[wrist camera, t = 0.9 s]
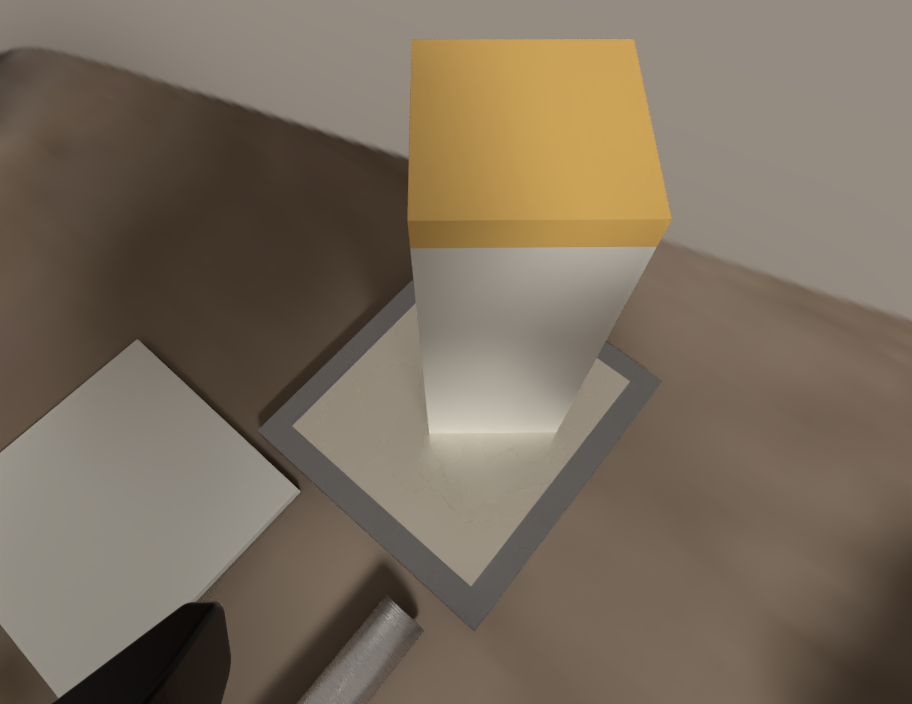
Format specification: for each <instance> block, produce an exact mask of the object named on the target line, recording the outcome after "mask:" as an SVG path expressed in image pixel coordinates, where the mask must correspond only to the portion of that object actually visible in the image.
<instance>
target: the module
mask: <svg viewBox="0 0 912 704" xmlns="http://www.w3.org/2000/svg"><path fill="white" fill-rule="evenodd" d="M409 136H410V137H409V176H408V218H407V221H408V231H409V241H410V251H411V261H412V270H413V280H414V290H415V300H416V310H417V319H418V329H419V339H420V349H421V359H422V368H423V378H424V388H425V398H426V407H427V417H428V427H429V434H433V433H518V432H557V430H558V428H559V427H560V425H561V423H562V421H563V419H564V417H565V415H566V414H567V412H568V410H569V408H570V406H571V404H572V403H573V401H574V399H575V397H576V395H577V393H578V391H579V390H580V388H581V386H582V384H583V382H584V380H585V378H586V377H587V375H588V373H589V371H590V369H591V367H592V366H593V364H594V362H595V360H596V358H597V356H598V354H599V353H600V351H601V349H602V347H603V345H604V343H605V341H606V340H607V338H608V336H609V334H610V332H611V330H612V329H613V327H614V325H615V323H616V321H617V319H618V317H619V316H620V314H621V312H622V310H623V308H624V306H625V305H626V303H627V301H628V299H629V297H630V295H631V293H632V292H633V290H634V288H635V286H636V284H637V282H638V280H639V279H640V277H641V275H642V273H643V271H644V269H645V268H646V266H647V264H648V262H649V260H650V258H651V256H652V255H653V253H654V251H655V249H656V247H657V245H658V243H659V242H660V240H661V238H662V236H663V234H664V232H665V230H666V229H667V227H668V225H669V223H670V221H671V214H670V209H669V204H668V200H667V195H666V190H665V185H664V180H663V176H662V171H661V166H660V161H659V157H658V152H657V147H656V142H655V137H654V133H653V128H652V123H651V118H650V113H649V109H648V104H647V99H646V95H645V90H644V85H643V80H642V76H641V71H640V66H639V61H638V56H637V51H636V47H635V42H634V39H574V40H573V39H552V40H551V39H550V40H549V39H539V40H538V39H528V40H527V39H525V40H524V39H520V40H519V39H512V40H511V39H504V40H503V39H499V40H497V39H493V40H492V39H490V40H486V39H485V40H484V39H480V40H479V39H478V40H475V39H473V40H472V39H471V40H412V51H411V94H410V134H409Z"/></svg>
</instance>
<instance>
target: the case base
mask: <svg viewBox="0 0 912 704" xmlns="http://www.w3.org/2000/svg"><path fill="white" fill-rule="evenodd" d="M661 382H662V380H660V379H659V378H657V377H656V376H654V375H653V374H652V373H650V372H649V371H647V370H646V369H644V368H643V367H642V366H640V365H639V364H637V363H636V362H634V361H633V360H632V359H630V358H629V357H627V356H626V355H624V354H623V353H622V352H620V351H619V350H617V349H616V348H614V347H613V346H612V345H610V344H609V343H607V342H606V341H605V343H604V345H603V347H602V349H601V351H600V353H599V354H598V356H597V358H596V360H595V362H594V364H593V366H592V367H591V369H590V371H589V373H588V375H587V377H586V378H585V380H584V382H583V384H582V386H581V388H580V390H579V391H578V393H577V395H576V397H575V399H574V401H573V403H572V404H571V406H570V408H569V410H568V412H567V414H566V415H565V417H564V419H563V421H562V423H561V425H560V427H559V428H558V430H557V432H518V433H433V434H429V427H428V417H427V407H426V398H425V388H424V378H423V368H422V359H421V349H420V339H419V329H418V319H417V310H416V300H415V290H414V280H412V281H411V282H410V283H409V284H408V285H407V286H406V287H405V288H403V289H402V290H401V291H400V292H399V293H398V294H397V295H396V296H395V297H394V298H393V299H392V300H391V301H390V302H389V303H388V304H387V305H386V306H385V307H384V308H383V309H382V310H381V311H380V312H379V313H378V314H377V315H376V316H375V317H374V318H373V319H372V320H371V321H370V322H368V323H367V324H366V325H365V326H364V327H363V328H362V329H361V330H360V331H359V332H358V333H357V334H356V335H355V336H354V337H353V338H352V339H351V340H350V341H349V342H348V343H347V344H346V345H345V346H344V347H343V348H342V349H341V350H340V351H339V352H338V353H337V354H336V355H334V356H333V357H332V358H331V359H330V360H329V361H328V362H327V363H326V364H325V365H324V366H323V367H322V368H321V369H320V370H319V371H318V372H317V373H316V374H315V375H314V376H313V377H312V378H311V379H310V380H309V381H308V382H307V383H306V384H305V385H304V386H303V387H302V388H301V389H299V390H298V391H297V392H296V393H295V394H294V395H293V396H292V397H291V398H290V399H289V400H288V401H287V402H286V403H285V404H284V405H283V406H282V407H281V408H280V409H279V410H278V411H277V412H276V413H275V414H274V415H273V416H272V417H271V418H270V419H269V420H268V421H267V422H266V423H264V424H263V425H262V426H261V427H260V428H259V429H258V430H257V431H258V432H259V433H260V434H261V435H262V436H263V437H264V438H265V439H266V440H267V441H268V442H269V443H270V444H272V445H273V446H274V447H275V448H276V449H277V450H278V451H279V452H280V453H281V454H282V455H283V456H285V457H286V458H287V459H288V460H289V461H290V462H291V463H292V464H293V465H294V466H295V467H297V468H298V469H299V470H300V471H301V472H302V473H303V474H304V475H305V476H306V477H307V478H308V479H310V480H311V481H312V482H313V483H314V484H315V485H316V486H317V487H318V488H319V489H320V490H321V491H323V492H324V493H325V494H326V495H327V496H328V497H329V498H330V499H331V500H332V501H333V502H335V503H336V504H337V505H338V506H339V507H340V508H341V509H342V510H343V511H344V512H345V513H346V514H348V515H349V516H350V517H351V518H352V519H353V520H354V521H355V522H356V523H357V524H358V525H359V526H361V527H362V528H363V529H364V530H365V531H366V532H367V533H368V534H369V535H370V536H371V537H372V538H374V539H375V540H376V541H377V542H378V543H379V544H380V545H381V546H382V547H383V548H384V549H386V550H387V551H388V552H389V553H390V554H391V555H392V556H393V557H394V558H395V559H396V560H397V561H399V562H400V563H401V564H402V565H403V566H404V567H405V568H406V569H407V570H408V571H409V572H410V573H412V574H413V575H414V576H415V577H416V578H417V579H418V580H419V581H420V582H421V583H422V584H423V585H425V586H426V587H427V588H428V589H429V590H430V591H431V592H432V593H433V594H434V595H435V596H437V597H438V598H439V599H440V600H441V601H442V602H443V603H444V604H445V605H446V606H447V607H448V608H450V609H451V610H452V611H453V612H454V613H455V614H456V615H457V616H458V617H459V618H460V619H461V620H463V621H464V622H465V623H466V624H467V625H468V626H469V627H470V628H471V629H472V630H473V631H475V630H476V628H477V627H478V626H479V624H480V623H481V622H482V620H483V619H484V618H485V616H486V615H487V614H488V612H489V611H490V610H491V608H492V607H493V606H494V604H495V603H496V602H497V600H498V599H499V598H500V596H501V595H502V594H503V592H504V591H505V590H506V588H507V587H508V586H509V584H510V583H511V582H512V580H513V579H514V578H515V576H516V575H517V574H518V572H519V571H520V570H521V568H522V567H523V566H524V564H525V563H526V562H527V560H528V559H529V558H530V556H531V555H532V554H533V552H534V551H535V550H536V548H537V547H538V546H539V544H540V543H541V542H542V540H543V539H544V538H545V536H546V535H547V534H548V532H549V531H550V530H551V528H552V527H553V526H554V524H555V523H556V522H557V520H558V519H559V518H560V516H561V515H562V514H563V512H564V511H565V510H566V508H567V507H568V506H569V504H570V503H571V502H572V500H573V499H574V498H575V496H576V495H577V494H578V492H579V491H580V490H581V488H582V487H583V486H584V484H585V483H586V482H587V480H588V479H589V478H590V476H591V475H592V474H593V472H594V471H595V470H596V468H597V467H598V466H599V464H600V463H601V462H602V460H603V459H604V458H605V456H606V455H607V454H608V452H609V451H610V450H611V448H612V447H613V446H614V444H615V443H616V442H617V440H618V439H619V438H620V436H621V435H622V434H623V432H624V431H625V430H626V428H627V427H628V426H629V424H630V423H631V422H632V420H633V419H634V418H635V416H636V415H637V414H638V412H639V411H640V410H641V408H642V407H643V406H644V404H645V403H646V402H647V401H648V399H649V398H650V397H651V395H652V394H653V393H654V391H655V390H656V389H657V387H658V386H659V385H660V383H661Z"/></svg>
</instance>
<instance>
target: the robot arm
mask: <svg viewBox="0 0 912 704" xmlns="http://www.w3.org/2000/svg"><path fill="white" fill-rule="evenodd" d="M230 664H231V654H230V647H229V640H228V634H227V627H226V620H225V614H224V610H223V607H222V605H221V604H220V603H218V602H189V603H186V604H184V605H182V606H180V607H179V608H178V609H176V610H175V611H174V612H172V613H171V614H170V615H168V616H167V617H166V618H164V619H163V620H162V621H160V622H159V623H158V624H156V625H155V626H154V627H153V628H151V629H150V630H149V631H147V632H146V633H145V634H143V635H142V636H141V637H139V638H138V639H137V640H135V641H134V642H133V643H131V644H130V645H129V646H127V647H126V648H125V649H123V650H122V651H121V652H119V653H118V654H117V655H115V656H114V657H113V658H111V659H110V660H109V661H107V662H106V663H105V664H103V665H102V666H101V667H99V668H98V669H97V670H95V671H94V672H93V673H91V674H90V675H89V676H87V677H86V678H85V679H83V680H82V681H81V682H79V683H78V684H77V685H75V686H74V687H73V688H71V689H70V690H69V691H68V692H66V693H65V694H64V695H62V696H61V697H60V698H58V699H57V700H56V701H54V702H53V703H52V704H221V702H222V699H223V695H224V691H225V688H226V684H227V680H228V677H229V672H230Z"/></svg>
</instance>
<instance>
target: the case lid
mask: <svg viewBox="0 0 912 704" xmlns="http://www.w3.org/2000/svg"><path fill="white" fill-rule="evenodd" d="M300 492H301V491H300V490H299V489H297V488H296V487H295V486H294V485H293V484H292V483H291V482H290V481H289V480H288V479H287V478H286V477H285V476H284V475H282V474H281V473H280V472H279V471H278V470H277V469H276V468H275V467H274V466H273V465H272V464H271V463H270V462H269V461H267V460H266V459H265V458H264V457H263V456H262V455H261V454H260V453H259V452H258V451H257V450H256V449H255V448H254V447H252V446H251V445H250V444H249V443H248V442H247V441H246V440H245V439H244V438H243V437H242V436H241V435H240V434H239V433H238V432H236V431H235V430H234V429H233V428H232V427H231V426H230V425H229V424H228V423H227V422H226V421H225V420H224V419H223V418H221V417H220V416H219V415H218V414H217V413H216V412H215V411H214V410H213V409H212V408H211V407H210V406H209V405H208V404H206V403H205V402H204V401H203V400H202V399H201V398H200V397H199V396H198V395H197V394H196V393H195V392H194V391H193V390H191V389H190V388H189V387H188V386H187V385H186V384H185V383H184V382H183V381H182V380H181V379H180V378H179V377H178V376H177V375H175V374H174V373H173V372H172V371H171V370H170V369H169V368H168V367H167V366H166V365H165V364H164V363H163V362H162V361H160V360H159V359H158V358H157V357H156V356H155V355H154V354H153V353H152V352H151V351H150V350H149V349H148V348H147V347H145V346H144V345H143V344H142V343H141V342H140V341H139V340H138V339H137V340H135V341H134V342H133V343H132V344H131V345H129V346H128V347H127V348H126V349H125V350H123V351H122V352H121V353H120V354H119V355H117V356H116V357H115V358H114V359H113V360H111V361H110V362H109V363H108V364H107V365H105V366H104V367H103V368H102V369H101V370H99V371H98V372H97V373H96V374H95V375H93V376H92V377H91V378H90V379H88V380H87V381H86V382H85V383H84V384H82V385H81V386H80V387H79V388H78V389H76V390H75V391H74V392H73V393H72V394H70V395H69V396H68V397H67V398H66V399H64V400H63V401H62V402H61V403H60V404H58V405H57V406H56V407H55V408H54V409H52V410H51V411H50V412H49V413H48V414H46V415H45V416H44V417H43V418H42V419H40V420H39V421H38V422H37V423H35V424H34V425H33V426H32V427H31V428H29V429H28V430H27V431H26V432H25V433H23V434H22V435H21V436H20V437H19V438H17V439H16V440H15V441H14V442H13V443H11V444H10V445H9V446H8V447H7V448H5V449H4V450H3V451H2V452H1V453H0V624H1V626H2V627H3V628H4V630H5V631H6V632H7V633H8V635H9V636H10V637H11V638H12V640H13V641H14V642H15V643H16V645H17V646H18V647H19V649H20V650H21V651H22V652H23V654H24V655H25V656H26V657H27V659H28V660H29V661H30V662H31V664H32V665H33V666H34V668H35V669H36V670H37V671H38V673H39V674H40V675H41V676H42V678H43V679H44V680H45V681H46V683H47V684H48V685H49V687H50V688H51V689H52V690H53V692H54V693H55V694H56V695H57V697H58V698H60V697H61V696H62V695H64V694H65V693H66V692H68V691H69V690H70V689H71V688H73V687H74V686H75V685H77V684H78V683H79V682H81V681H82V680H83V679H85V678H86V677H87V676H89V675H90V674H91V673H93V672H94V671H95V670H97V669H98V668H99V667H101V666H102V665H103V664H105V663H106V662H107V661H109V660H110V659H111V658H113V657H114V656H115V655H117V654H118V653H119V652H121V651H122V650H123V649H125V648H126V647H127V646H129V645H130V644H131V643H133V642H134V641H135V640H137V639H138V638H139V637H141V636H142V635H143V634H145V633H146V632H147V631H149V630H150V629H151V628H153V627H154V626H155V625H156V624H158V623H159V622H160V621H162V620H163V619H164V618H166V617H167V616H168V615H170V614H171V613H172V612H174V611H175V610H176V609H178V608H179V607H180V606H182V605H184V604H186V603H189V602H196V601H197V600H198V599H199V598H200V597H201V596H202V595H203V594H204V593H205V592H206V591H207V590H208V589H209V588H210V587H211V586H212V585H213V584H214V583H215V581H216V580H217V579H218V578H219V577H220V576H221V575H222V574H223V573H224V572H225V571H226V570H227V569H228V568H229V567H230V566H231V565H232V564H233V563H234V562H235V560H236V559H237V558H238V557H239V556H240V555H241V554H242V553H243V552H244V551H245V550H246V549H247V548H248V547H249V546H250V545H251V544H252V543H253V542H254V541H255V539H256V538H257V537H258V536H259V535H260V534H261V533H262V532H263V531H264V530H265V529H266V528H267V527H268V526H269V525H270V524H271V523H272V522H273V521H274V520H275V518H276V517H277V516H278V515H279V514H280V513H281V512H282V511H283V510H284V509H285V508H286V507H287V506H288V505H289V504H290V503H291V502H292V501H293V500H294V499H295V497H296V496H297V495H298V494H299V493H300Z"/></svg>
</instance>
